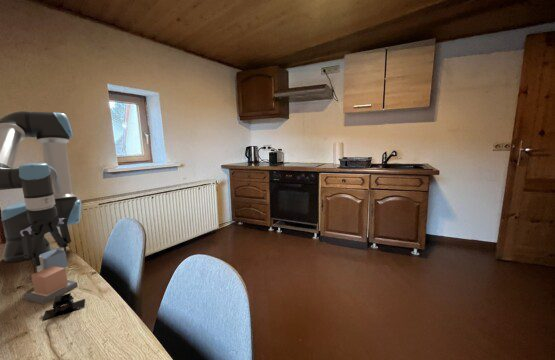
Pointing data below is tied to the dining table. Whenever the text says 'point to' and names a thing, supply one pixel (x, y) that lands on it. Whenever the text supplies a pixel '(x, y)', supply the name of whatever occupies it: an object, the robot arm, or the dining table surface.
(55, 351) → the dining table surface
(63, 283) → the terracotta block
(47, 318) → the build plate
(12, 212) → the robot arm
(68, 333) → the dining table surface
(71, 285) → the blueprint board
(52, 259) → the blue block
